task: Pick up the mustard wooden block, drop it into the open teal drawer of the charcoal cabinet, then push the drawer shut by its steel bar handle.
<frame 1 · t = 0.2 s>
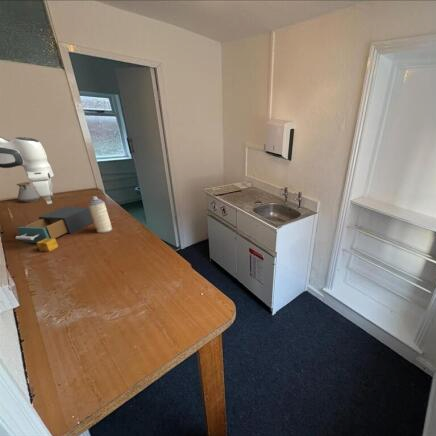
hand: (50, 200, 116), 20 cm above the table, tool pointing down, fingers open, 8 cm apart
drawer: (43, 230, 118), point 5 cm above the table, slide at 10.0 cm
cabinet: (70, 227, 132), on the table
aerosol can: (105, 230, 131), on the table
block: (49, 248, 111), on the table
coffee pot: (31, 202, 165), on the table
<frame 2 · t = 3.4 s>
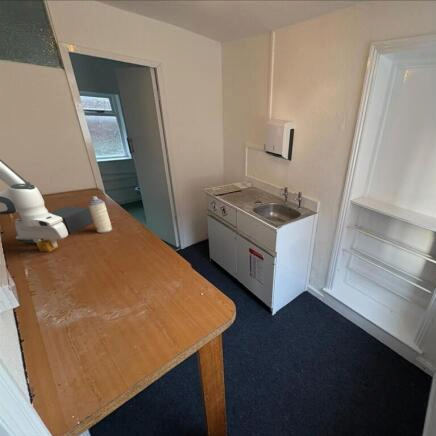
hand: (48, 245, 111), 2 cm above the table, tool pointing down, fingers closed on block, 4 cm apart
block: (49, 248, 111), on the table, touching gripper
everything else where it was.
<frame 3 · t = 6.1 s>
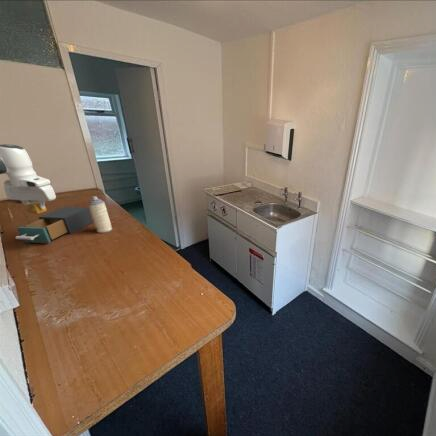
hand: (36, 208, 113), 17 cm above the table, tool pointing down, fingers closed on block, 4 cm apart
block: (37, 211, 114), point 15 cm above the table, touching gripper
everything else where it was.
when the fingers open (8 cm above the table, at t = 8.9 s): block drops 4 cm, resting on drawer.
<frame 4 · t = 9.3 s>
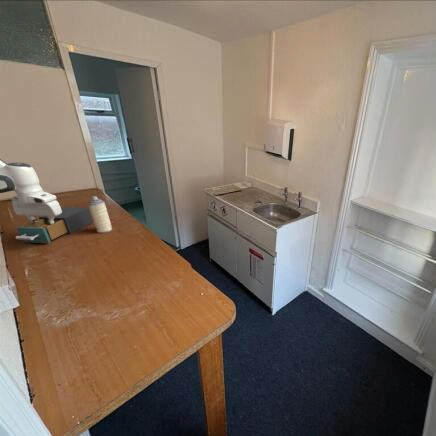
hand: (43, 223, 117), 9 cm above the table, tool pointing down, fingers open, 7 cm apart
drawer: (43, 230, 118), point 5 cm above the table, slide at 10.0 cm, touching block
block: (47, 234, 120), point 2 cm above the table, touching drawer
everything else where it was.
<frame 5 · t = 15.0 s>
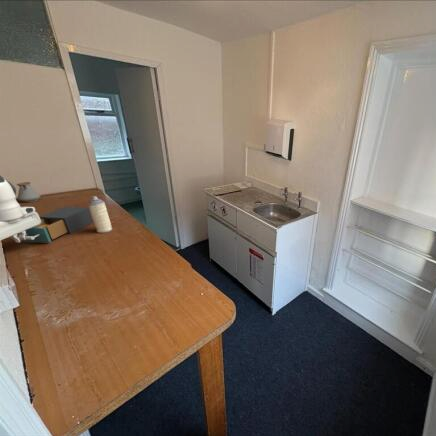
hand: (21, 241, 108), 5 cm above the table, tool pointing down, fingers closed
drawer: (43, 230, 118), point 5 cm above the table, slide at 9.8 cm, touching block, gripper
everything else where it was.
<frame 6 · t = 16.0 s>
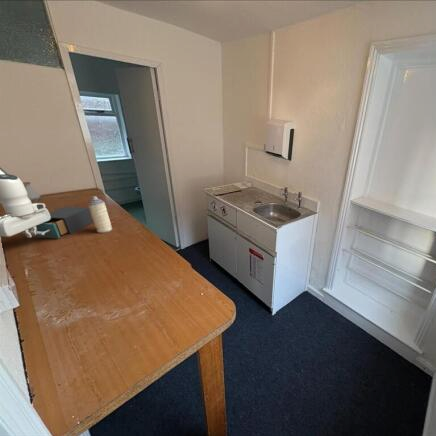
hand: (32, 236, 112), 5 cm above the table, tool pointing down, fingers closed
drawer: (53, 226, 122), point 5 cm above the table, slide at 4.8 cm, touching block, gripper
block: (57, 230, 125), point 2 cm above the table, touching drawer
everything else where it was.
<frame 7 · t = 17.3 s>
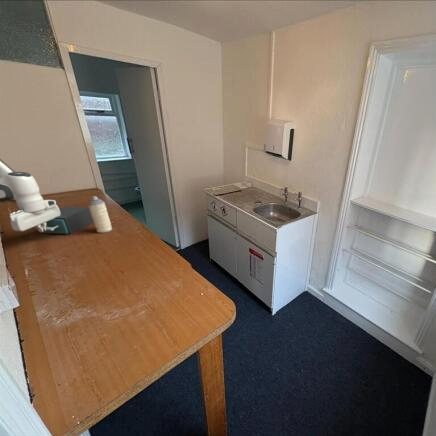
hand: (43, 231, 117), 5 cm above the table, tool pointing down, fingers closed
drawer: (61, 222, 127), point 5 cm above the table, slide at 0.0 cm, touching block, cabinet, gripper
block: (65, 226, 129), point 2 cm above the table, touching drawer
everything else where it was.
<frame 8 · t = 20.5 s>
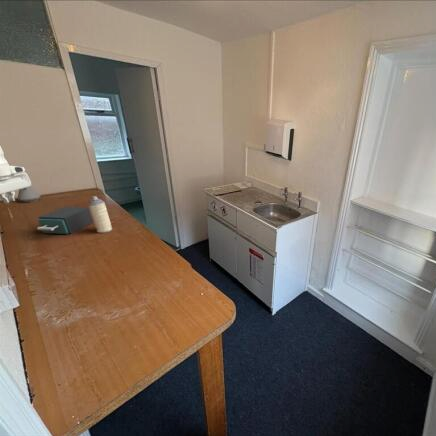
hand: (9, 202, 103), 23 cm above the table, tool pointing down, fingers closed
drawer: (61, 222, 127), point 5 cm above the table, slide at 0.0 cm, touching block, cabinet
everything else where it was.
at the end: block inside the target area in the cabinet (2.5 cm from its centre), point 2.0 cm above the cabinet's base; drawer slide at 0.0 cm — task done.
